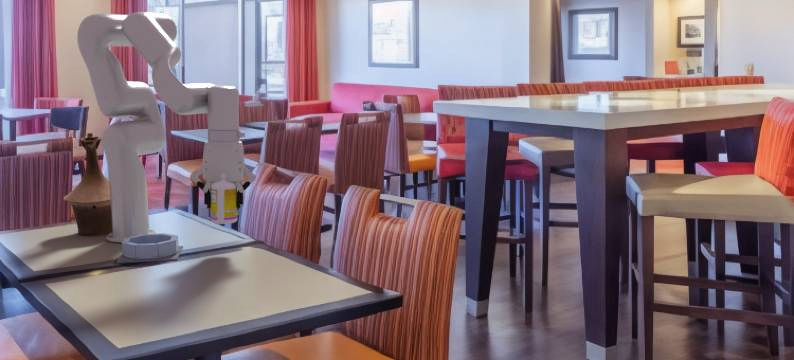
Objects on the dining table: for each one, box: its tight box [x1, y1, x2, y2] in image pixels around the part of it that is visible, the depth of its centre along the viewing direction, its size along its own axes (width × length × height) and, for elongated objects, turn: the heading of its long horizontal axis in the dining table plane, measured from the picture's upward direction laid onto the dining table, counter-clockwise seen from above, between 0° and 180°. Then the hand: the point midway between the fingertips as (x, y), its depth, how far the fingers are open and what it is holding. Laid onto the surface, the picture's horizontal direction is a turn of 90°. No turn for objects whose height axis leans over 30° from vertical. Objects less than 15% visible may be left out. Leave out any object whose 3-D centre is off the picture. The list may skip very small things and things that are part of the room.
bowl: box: [121, 232, 180, 260], centre depth 203 cm, size 13×13×4 cm
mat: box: [116, 245, 184, 264], centre depth 204 cm, size 14×14×1 cm
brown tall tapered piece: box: [63, 132, 112, 237], centre depth 230 cm, size 18×17×28 cm
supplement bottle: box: [209, 174, 238, 225], centre depth 205 cm, size 7×7×13 cm
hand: (223, 206), depth 205 cm, fingers closed on supplement bottle, 6 cm apart
